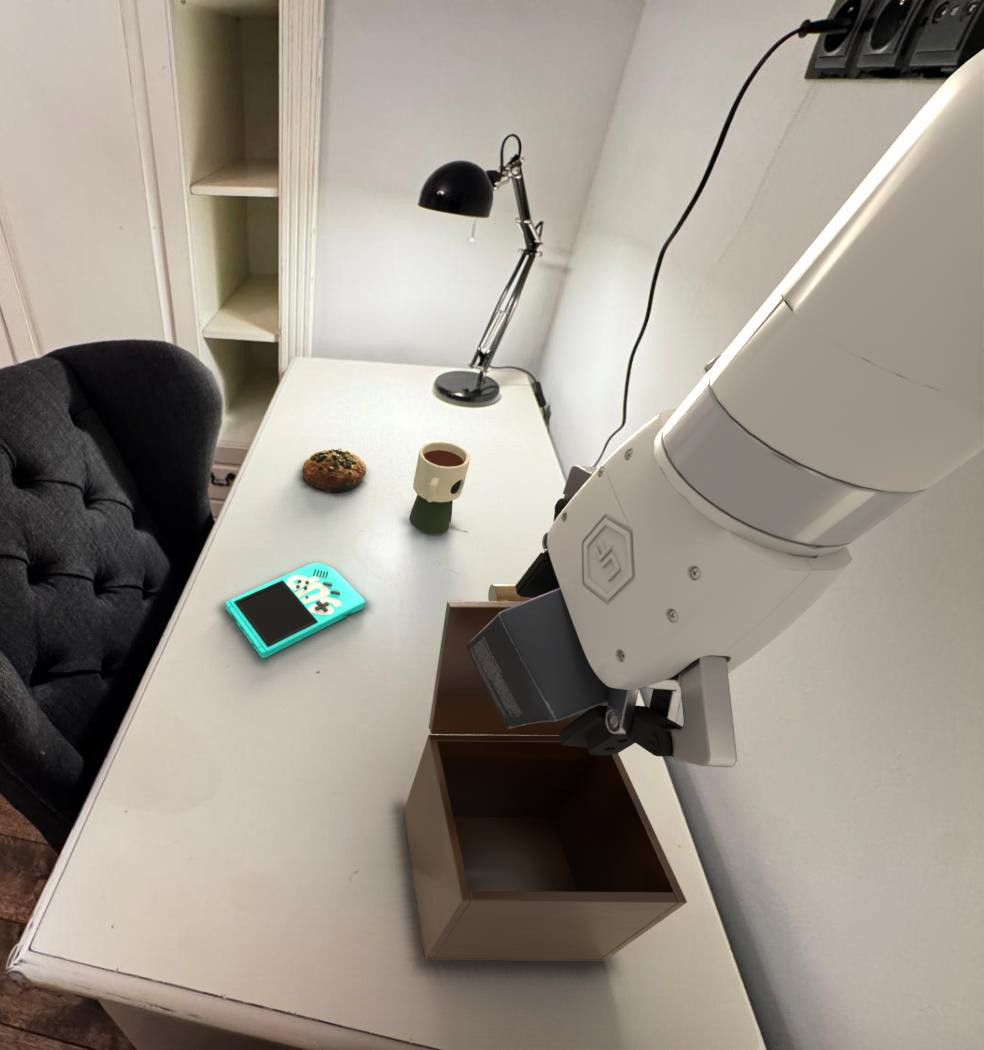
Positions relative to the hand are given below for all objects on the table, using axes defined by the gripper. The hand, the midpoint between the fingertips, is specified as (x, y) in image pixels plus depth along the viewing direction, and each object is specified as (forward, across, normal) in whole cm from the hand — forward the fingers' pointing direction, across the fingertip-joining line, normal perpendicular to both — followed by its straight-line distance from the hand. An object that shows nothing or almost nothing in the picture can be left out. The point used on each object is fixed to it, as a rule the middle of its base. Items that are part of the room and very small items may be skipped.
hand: (559, 661), depth 35 cm
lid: (+8, -3, +3) cm, 9 cm away
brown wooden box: (+27, +7, +6) cm, 29 cm away
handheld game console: (+34, -24, -12) cm, 44 cm away
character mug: (+35, -41, +9) cm, 55 cm away
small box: (+4, -2, +2) cm, 5 cm away
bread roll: (+39, -54, -4) cm, 67 cm away
